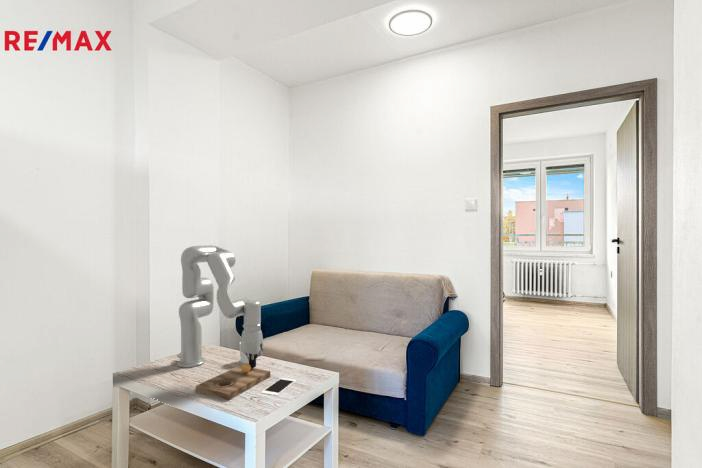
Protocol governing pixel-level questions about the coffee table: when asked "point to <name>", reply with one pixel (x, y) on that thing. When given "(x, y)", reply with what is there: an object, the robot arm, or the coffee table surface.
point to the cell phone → (278, 386)
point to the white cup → (243, 357)
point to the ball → (246, 368)
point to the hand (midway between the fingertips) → (252, 367)
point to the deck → (232, 382)
